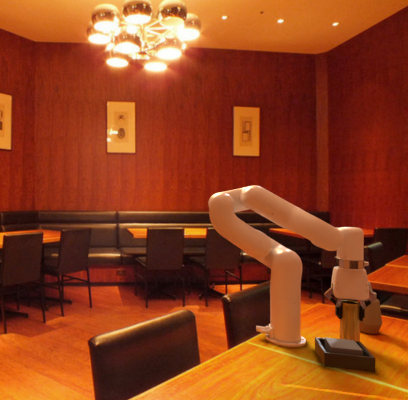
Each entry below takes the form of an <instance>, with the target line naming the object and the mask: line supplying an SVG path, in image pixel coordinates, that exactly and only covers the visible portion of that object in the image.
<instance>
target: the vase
mask: <svg viewBox="0 0 408 400" xmlns="http://www.w3.org/2000/svg"><path fill="white" fill-rule="evenodd" d="M341 307H342V319H339V337H338V339H346V340H354V341H360V342H361V331H360V329H359V303H358V302H357V301H355V300H351V299H343V300H342V302H341Z"/></svg>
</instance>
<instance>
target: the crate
mask: <svg viewBox="0 0 408 400" xmlns="http://www.w3.org/2000/svg"><path fill="white" fill-rule="evenodd" d="M325 338H326V337H314V351H315V353H316V355H317V356H318V358H319V360H320V362H321V363H322V365H323V367H324V368H332V369H340V370H348V371H349V370H350V371H357V372H358V371H359V372H365V373H374V374H376V357H375V356H374V355H373V353H372V352H371V351H369V349H368V347H366V346H365V345H364V344H363V343H362V341H361V340H360V341H355V342H356V343H357V344H358V345H359V346H360V348H361V349H362V350H363V356H359V355H350V354H340V353H330V352H326V350H325Z"/></svg>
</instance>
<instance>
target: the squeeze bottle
mask: <svg viewBox="0 0 408 400" xmlns="http://www.w3.org/2000/svg"><path fill="white" fill-rule="evenodd" d="M368 286H369V291H370V292H371V293H372V294H373V295H374V296H375V297H376V298H377V293H376V292H374V291H373V287H372V284H371V282H370V281H368ZM364 301H365V300H364ZM356 302H358V300H356ZM381 310H382V309H381V302H380V300H379V299H378V298H377V300H375V301H374V302H372V303H371V304H370V305H369V306H367V307H366V309H365V318H363V321H360V320H359V329H360V333H363V334H364V333H365V334H370V335H378V334H379V333H380V330H381V328H382V325H383V317H382V311H381Z"/></svg>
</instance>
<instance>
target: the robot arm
mask: <svg viewBox="0 0 408 400" xmlns="http://www.w3.org/2000/svg"><path fill="white" fill-rule="evenodd" d="M207 202H208V203H207V205H208V215H209V221H210V223H211V225H212V228H213V229H214V230H215V231H216V233H218V234H219V235H220V236H221V237H222V238H223V239H225V240H227V241H228V242H230V243H231V244H232V245H234V246H236V247H237V248H238V249H240V250H241V251H243V252H244V253H245V254H246V255H248V256H249V257H252V258H253V259H255V260H257V261H258V262H259V263H261V264H263V265H264V266H266V267H268V268H269V269H270V279H269V305H270V306H269V312H270V313H269V314H270V315H269V321H270V323H268V325H265V326H262V325H255V331H256V332H258V333H260V334H263V335H264V334H265V339H266V341H268V342H270V343H272V344H275V345H278V346H280V347H281V346H282V347H286V348H287V347H288V348H298V347H303V346H305V345H306V344H307V339H306V338H305V337H304V336H302V302H301V301H302V295H301V293H302V289H301V288H302V277H303V262H302V259H301V257H300V255H298V253H297V252H296V251H294V250H292V249H290V248H288V247H286V246H284V245H283V244H282V243H279V242H278V241H276V240H275V239H273V238H271V237H270V236H268V235H267V234H266V233H264V232H263V231H261V230H259V229H256V228H254V227H253V226H251V225H249V224H248V223H246V222H245V221H244V220H242V219H241V218H239V217H238V216H237V215H236V213H237V212H243V211H249V210H251V211H253V212H254V213H256V214H258V215H260V216H261V217H263V218H265V219H267V220H268V221H270V222H272V223H274V224H275V225H276V226H279V227H281V228H283V229H284V230H286V231H290V232H292V233H294V234H296V235H299V236H301V237H303V238H305V239H307V240H308V241H310V242H311V244H312V245H314V246H316V247H318V248H320V249H322V250H325V251H328V252H336V266H334V267H333V268H332V274H331V281H330V282H331V283H330V287H329V288H328V289H327V290H326V291H325V292H324V293H323V296H324V297H326V298H327V299H328V300H329V301H330V302H331V303H332V304H334V305H335V306H334V308H335V309H334V313H335V314H334V315H335V316H336V317H337V319H339V320H340V319H342V307H341V302H342V300H352V301H355V300H356V301H358V303H359V320H360V321H363V318H365V309H366V307H367V306H369V305H370V304H371V303H372V302H374V301H375V300H377V299H378V298H377V296H376V297H375V296H374V295H373V294H372V293H371V292H370V291H369V286H368V282H369V279H368V274H367V270H366V269H365V267H369V265H370V263H369V261H365V259H364V258H365V257H364V256H365V255H364V251H365V250H364V248H365V247H364V246H365V245H364V243H365V239H364V237H365V234H364V233H365V232H364V230H363V229H362V228H360V227H357V226H356V227H355V226H341V227H337V226H336V227H335V226H333V225H332V224H330V223H328V222H326V221H324V220H322V219H321V218H319V217H317V216H315V215H313V214H311V213H309V212H307V211H305V210H304V209H302V208H301V207H298V206H297V205H295V204H293V203H291V202H289V201H287V200H286V199H284V198H283V197H280V196H279V195H277V194H275V193H273V192H271V191H270V190H268V189H266V188H264V187H262V186H261V185H255V184H254V185H248V186H244V187H239V188H236V189H231V190H230V189H229V190H225V191H220V192H215V193H214V194H212V195H211V196H210V197H209V199H208V201H207ZM331 295H333V296H334V297H335V298H334V297H333V296H331ZM364 300H365V301H364Z"/></svg>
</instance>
